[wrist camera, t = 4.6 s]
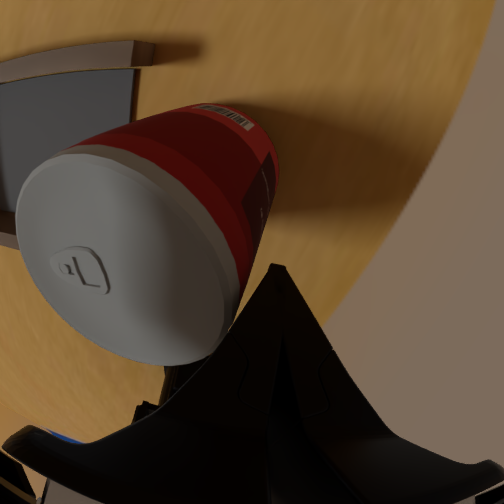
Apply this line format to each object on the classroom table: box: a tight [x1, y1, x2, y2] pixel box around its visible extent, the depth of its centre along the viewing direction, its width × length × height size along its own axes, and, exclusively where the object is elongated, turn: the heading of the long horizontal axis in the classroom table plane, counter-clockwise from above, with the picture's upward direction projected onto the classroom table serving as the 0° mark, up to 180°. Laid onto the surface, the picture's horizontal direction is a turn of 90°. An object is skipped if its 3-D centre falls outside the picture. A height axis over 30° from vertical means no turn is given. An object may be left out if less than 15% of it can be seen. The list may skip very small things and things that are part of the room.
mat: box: [0, 69, 136, 213], centre depth 16 cm, size 11×14×1 cm
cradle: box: [0, 41, 155, 250], centre depth 15 cm, size 14×17×3 cm
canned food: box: [15, 103, 279, 366], centre depth 12 cm, size 8×8×11 cm
